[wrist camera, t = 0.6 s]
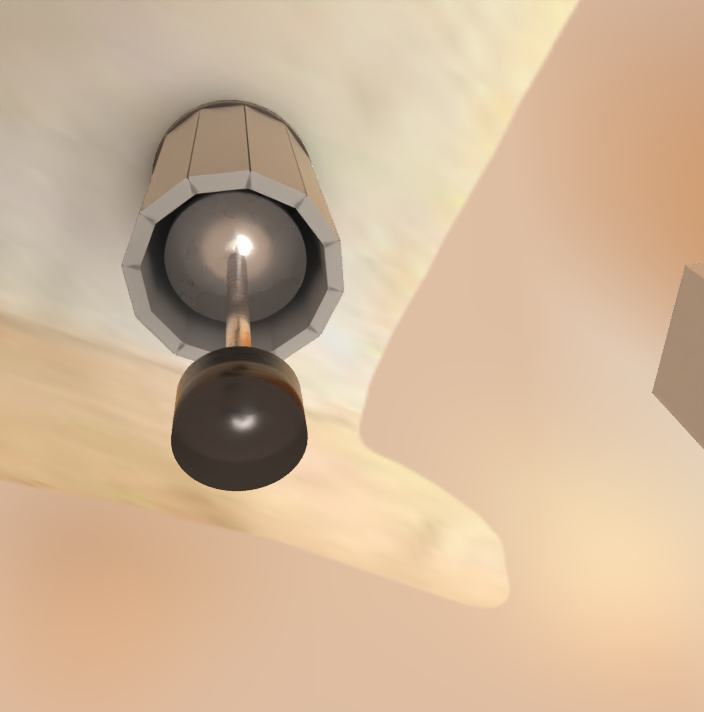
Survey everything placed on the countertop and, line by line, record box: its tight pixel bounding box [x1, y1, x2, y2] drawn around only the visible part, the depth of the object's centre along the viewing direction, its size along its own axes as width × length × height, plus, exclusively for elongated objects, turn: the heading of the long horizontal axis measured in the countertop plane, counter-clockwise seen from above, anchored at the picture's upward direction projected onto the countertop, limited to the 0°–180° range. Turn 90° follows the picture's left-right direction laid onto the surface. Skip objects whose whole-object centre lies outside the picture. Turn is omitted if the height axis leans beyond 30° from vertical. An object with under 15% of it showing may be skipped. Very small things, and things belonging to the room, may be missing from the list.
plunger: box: [164, 189, 308, 491], centre depth 27 cm, size 7×7×15 cm
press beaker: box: [122, 100, 344, 361], centre depth 38 cm, size 13×11×15 cm
